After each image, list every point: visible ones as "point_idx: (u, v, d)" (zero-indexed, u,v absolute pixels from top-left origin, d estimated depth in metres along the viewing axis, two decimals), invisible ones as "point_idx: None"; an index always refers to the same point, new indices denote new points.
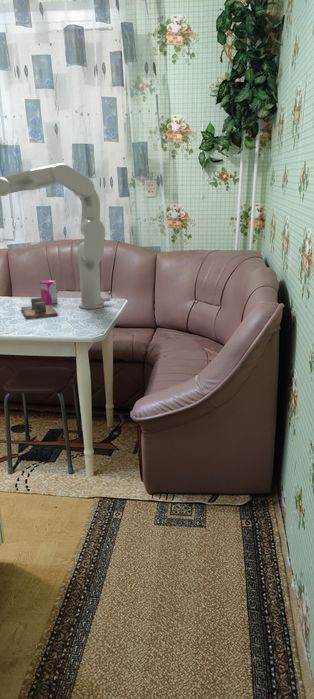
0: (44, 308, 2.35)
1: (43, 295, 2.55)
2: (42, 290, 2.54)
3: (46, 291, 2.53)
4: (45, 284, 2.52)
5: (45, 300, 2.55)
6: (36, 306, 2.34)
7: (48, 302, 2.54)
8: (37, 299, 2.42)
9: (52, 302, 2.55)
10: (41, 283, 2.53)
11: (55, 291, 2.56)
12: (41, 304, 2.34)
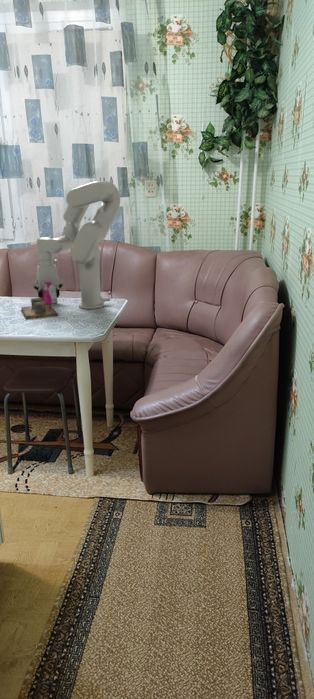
0: (44, 308, 2.35)
1: (43, 295, 2.55)
2: (42, 290, 2.54)
3: (46, 291, 2.53)
4: (45, 284, 2.52)
5: (45, 300, 2.55)
6: (36, 306, 2.34)
7: (48, 302, 2.54)
8: (37, 299, 2.42)
9: (52, 302, 2.55)
10: None
11: (55, 291, 2.56)
12: (41, 304, 2.34)
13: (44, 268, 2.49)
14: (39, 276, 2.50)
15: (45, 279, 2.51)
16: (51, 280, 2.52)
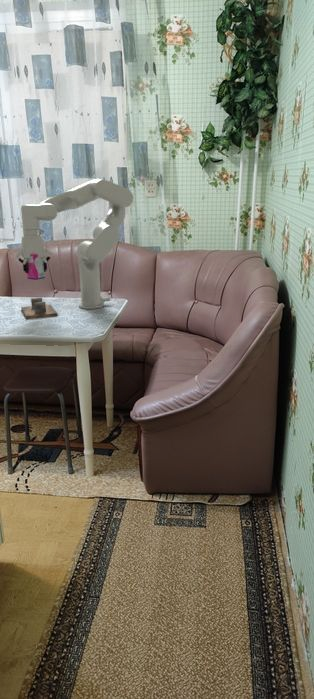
0: (44, 308, 2.35)
1: (29, 269, 2.32)
2: (27, 263, 2.31)
3: (32, 264, 2.30)
4: (31, 256, 2.29)
5: (31, 274, 2.32)
6: (36, 306, 2.34)
7: (34, 276, 2.31)
8: (37, 299, 2.42)
9: (38, 276, 2.32)
10: None
11: (42, 264, 2.33)
12: (41, 304, 2.34)
13: (29, 238, 2.26)
14: (24, 247, 2.27)
15: (30, 251, 2.28)
16: (37, 252, 2.29)
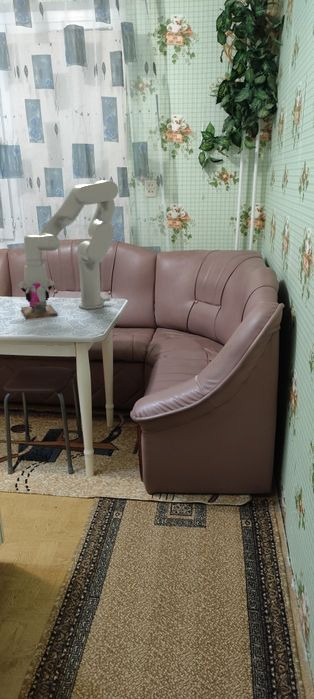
0: (44, 308, 2.35)
1: (31, 297, 2.36)
2: (30, 292, 2.35)
3: (34, 293, 2.34)
4: (33, 285, 2.33)
5: (33, 303, 2.36)
6: (36, 306, 2.34)
7: None
8: None
9: None
10: None
11: (44, 293, 2.37)
12: (41, 304, 2.34)
13: (32, 268, 2.31)
14: (27, 277, 2.31)
15: (33, 280, 2.32)
16: (40, 281, 2.34)
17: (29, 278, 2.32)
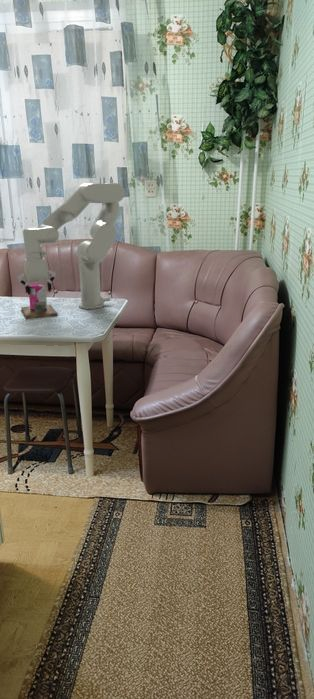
0: (44, 308, 2.35)
1: (31, 300, 2.37)
2: (30, 295, 2.36)
3: (34, 296, 2.35)
4: (33, 288, 2.34)
5: (33, 306, 2.37)
6: (36, 306, 2.34)
7: None
8: None
9: None
10: (29, 287, 2.35)
11: (44, 297, 2.37)
12: (41, 304, 2.34)
13: (32, 261, 2.30)
14: (27, 270, 2.30)
15: (33, 273, 2.32)
16: (40, 274, 2.33)
17: (29, 271, 2.31)
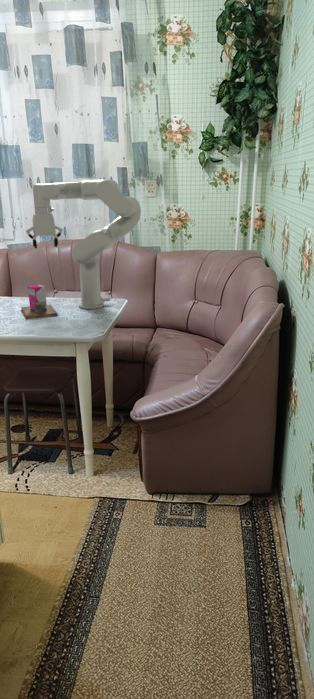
0: (44, 308, 2.35)
1: (31, 301, 2.37)
2: (30, 295, 2.36)
3: (34, 297, 2.35)
4: (32, 289, 2.33)
5: (33, 306, 2.37)
6: (36, 306, 2.34)
7: None
8: None
9: None
10: (29, 288, 2.35)
11: (44, 297, 2.37)
12: (41, 304, 2.34)
13: (40, 216, 2.40)
14: (35, 224, 2.40)
15: (41, 228, 2.41)
16: (48, 229, 2.43)
17: (38, 225, 2.41)
